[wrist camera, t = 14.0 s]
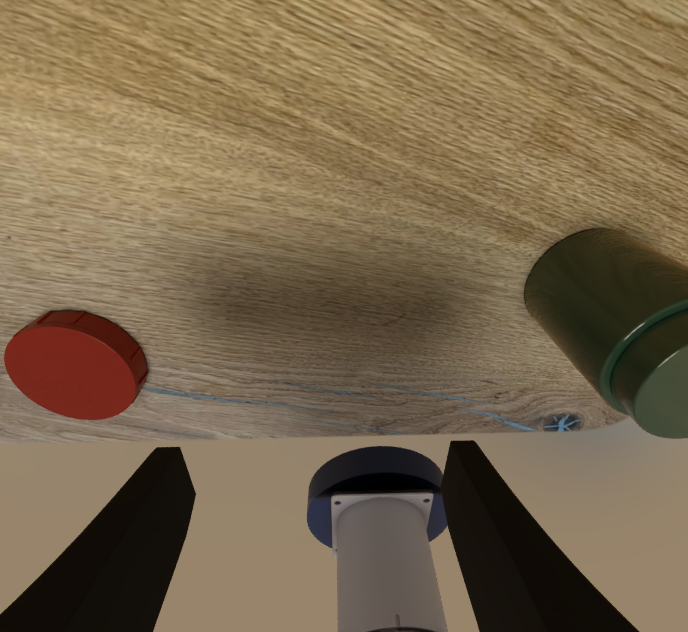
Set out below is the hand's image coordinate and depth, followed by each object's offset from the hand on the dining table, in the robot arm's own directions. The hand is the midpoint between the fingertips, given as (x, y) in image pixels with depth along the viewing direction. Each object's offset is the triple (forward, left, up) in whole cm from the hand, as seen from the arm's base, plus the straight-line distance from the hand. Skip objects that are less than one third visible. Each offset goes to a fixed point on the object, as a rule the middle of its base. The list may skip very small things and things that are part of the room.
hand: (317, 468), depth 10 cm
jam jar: (+1, -12, -9) cm, 15 cm away
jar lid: (-3, +12, -8) cm, 15 cm away
